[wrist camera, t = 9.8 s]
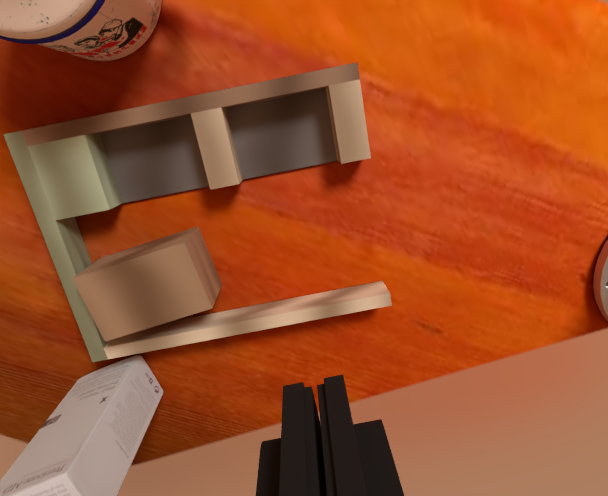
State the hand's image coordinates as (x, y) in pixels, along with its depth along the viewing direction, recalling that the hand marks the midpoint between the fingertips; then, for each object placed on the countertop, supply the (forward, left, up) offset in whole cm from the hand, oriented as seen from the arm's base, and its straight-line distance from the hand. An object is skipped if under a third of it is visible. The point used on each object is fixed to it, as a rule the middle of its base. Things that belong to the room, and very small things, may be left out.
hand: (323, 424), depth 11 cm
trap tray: (+5, -2, -21) cm, 22 cm away
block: (+11, +1, -22) cm, 24 cm away
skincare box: (+17, +10, -22) cm, 30 cm away
